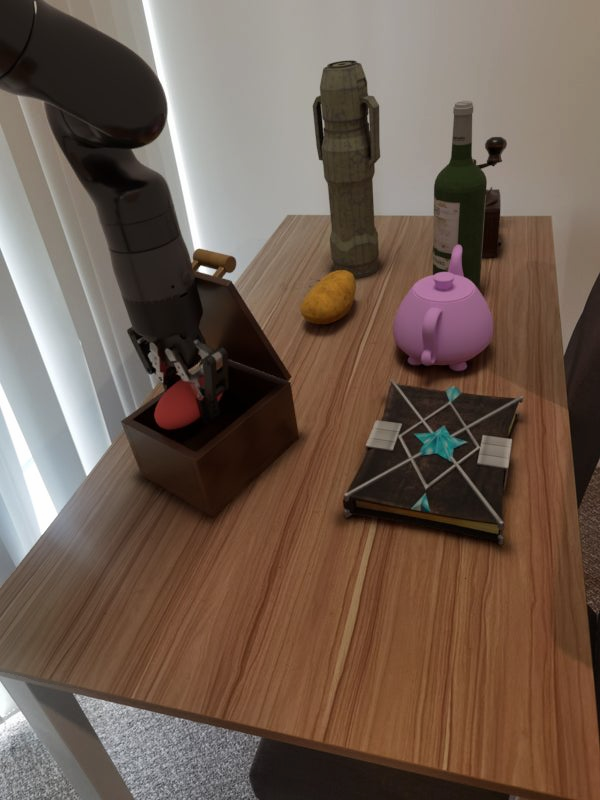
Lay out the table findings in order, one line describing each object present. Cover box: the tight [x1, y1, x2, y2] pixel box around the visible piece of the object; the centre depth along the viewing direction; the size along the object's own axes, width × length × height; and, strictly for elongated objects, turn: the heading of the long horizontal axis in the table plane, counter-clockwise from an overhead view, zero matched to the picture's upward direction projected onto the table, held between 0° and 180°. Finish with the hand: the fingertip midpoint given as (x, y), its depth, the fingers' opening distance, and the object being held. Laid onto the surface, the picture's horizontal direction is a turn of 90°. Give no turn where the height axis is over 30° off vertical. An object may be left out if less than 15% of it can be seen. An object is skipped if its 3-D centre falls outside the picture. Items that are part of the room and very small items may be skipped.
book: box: [342, 379, 524, 546], centre depth 70 cm, size 22×17×5 cm
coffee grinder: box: [472, 136, 508, 259], centre depth 113 cm, size 16×11×18 cm
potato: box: [299, 270, 357, 325], centre depth 100 cm, size 8×14×7 cm, turn 152°
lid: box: [191, 248, 292, 382], centre depth 70 cm, size 17×13×5 cm
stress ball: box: [154, 376, 223, 430], centre depth 69 cm, size 5×9×6 cm, turn 129°
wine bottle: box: [432, 100, 488, 291], centre depth 94 cm, size 8×8×30 cm
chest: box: [120, 359, 300, 518], centre depth 74 cm, size 16×13×9 cm
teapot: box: [392, 245, 494, 372], centre depth 86 cm, size 20×14×12 cm
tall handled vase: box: [312, 59, 381, 279], centre depth 105 cm, size 9×12×35 cm
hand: (195, 411), depth 70 cm, fingers closed on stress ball, 5 cm apart
